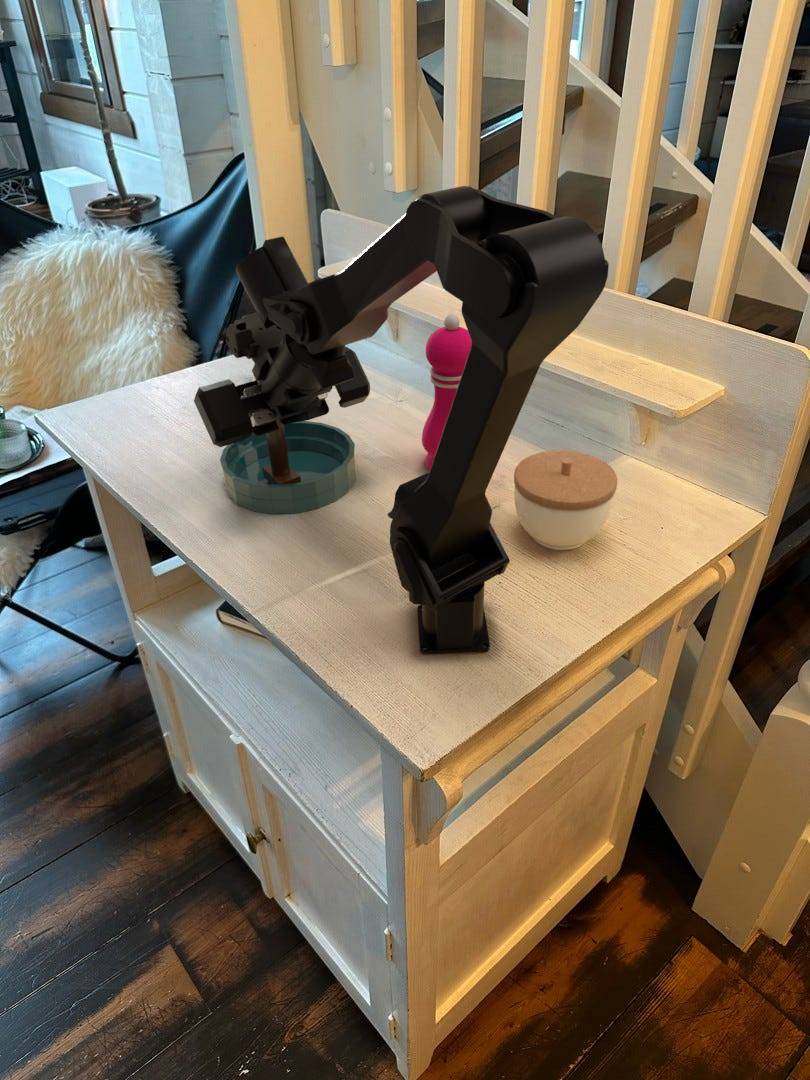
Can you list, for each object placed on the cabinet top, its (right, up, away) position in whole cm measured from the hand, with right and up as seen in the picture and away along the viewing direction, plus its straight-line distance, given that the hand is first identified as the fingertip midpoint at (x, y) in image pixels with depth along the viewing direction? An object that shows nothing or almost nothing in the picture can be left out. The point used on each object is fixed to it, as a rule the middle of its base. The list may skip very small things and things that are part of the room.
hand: (269, 423), depth 90 cm
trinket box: (+33, -13, -5) cm, 36 cm away
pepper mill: (+22, -5, +7) cm, 24 cm away
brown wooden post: (+1, -7, +3) cm, 7 cm away
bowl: (+2, -7, +5) cm, 9 cm away
